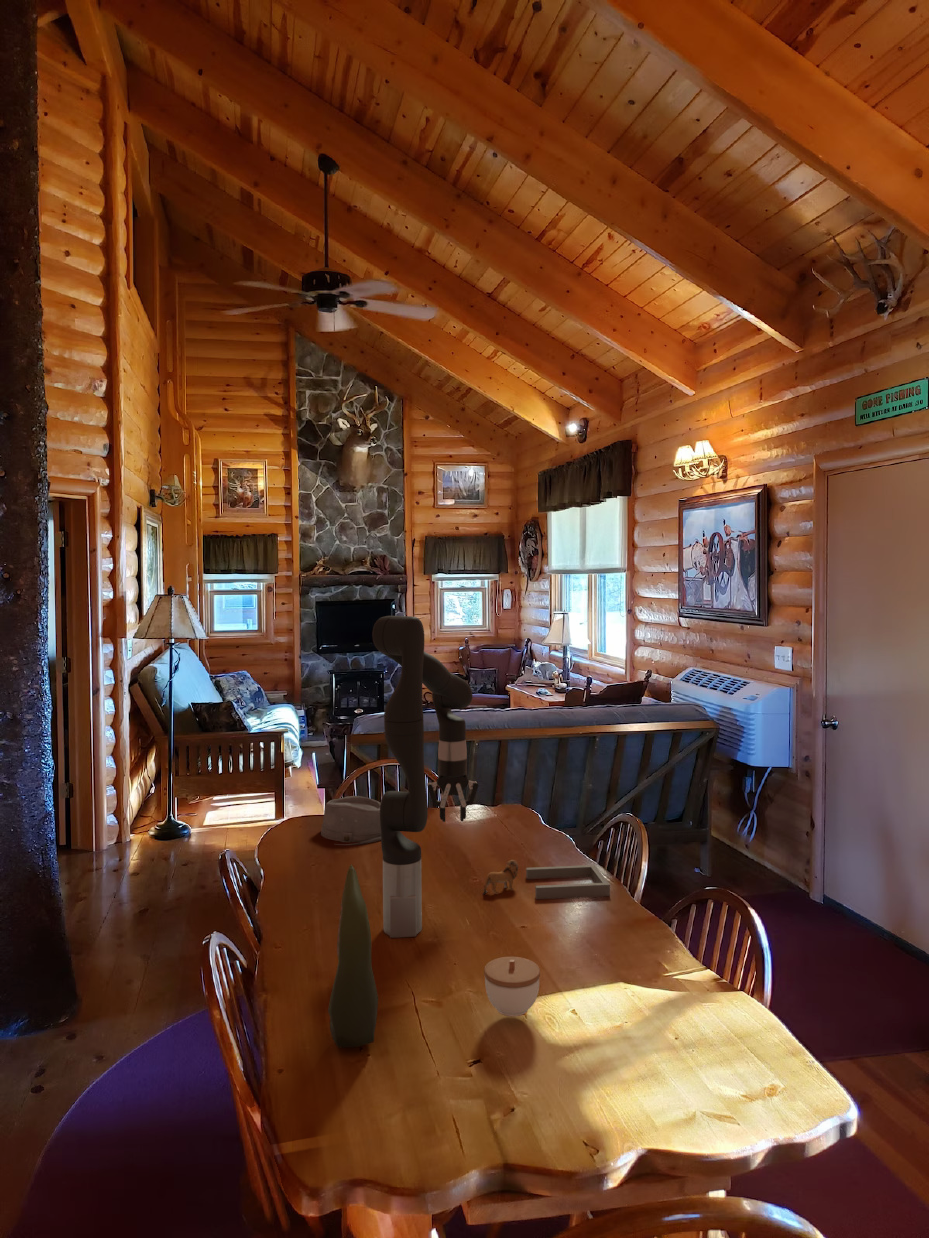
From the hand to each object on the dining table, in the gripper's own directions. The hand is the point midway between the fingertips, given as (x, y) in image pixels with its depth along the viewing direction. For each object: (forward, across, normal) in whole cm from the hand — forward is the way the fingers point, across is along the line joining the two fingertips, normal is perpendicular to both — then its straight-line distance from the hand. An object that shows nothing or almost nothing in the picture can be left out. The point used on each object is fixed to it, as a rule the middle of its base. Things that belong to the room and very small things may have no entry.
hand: (452, 820), depth 213 cm
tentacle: (+19, -24, -67) cm, 74 cm away
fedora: (+20, -28, +51) cm, 62 cm away
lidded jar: (+20, +6, -60) cm, 63 cm away
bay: (+19, +30, 0) cm, 36 cm away
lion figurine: (+20, +13, 0) cm, 23 cm away
